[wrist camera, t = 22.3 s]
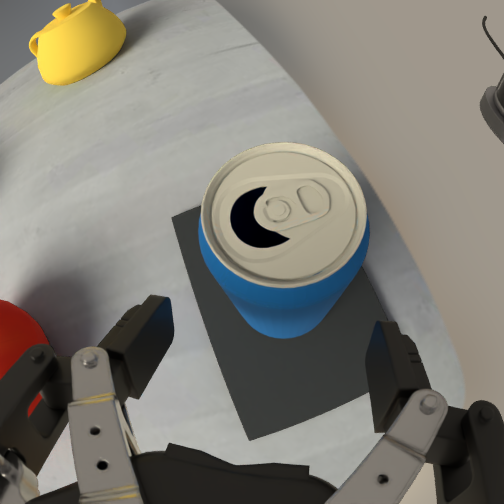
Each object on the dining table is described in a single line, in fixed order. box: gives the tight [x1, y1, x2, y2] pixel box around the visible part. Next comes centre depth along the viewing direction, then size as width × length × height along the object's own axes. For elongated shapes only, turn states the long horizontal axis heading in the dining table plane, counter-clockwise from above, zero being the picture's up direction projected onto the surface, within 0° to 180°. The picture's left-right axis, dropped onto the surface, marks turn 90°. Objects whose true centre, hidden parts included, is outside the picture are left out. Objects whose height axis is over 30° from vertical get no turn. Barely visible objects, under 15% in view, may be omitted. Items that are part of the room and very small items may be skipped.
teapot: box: [29, 0, 126, 85], centre depth 34 cm, size 20×19×13 cm
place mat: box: [172, 205, 388, 441], centre depth 22 cm, size 18×12×1 cm, turn 21°
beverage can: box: [198, 142, 370, 339], centre depth 16 cm, size 6×6×12 cm
